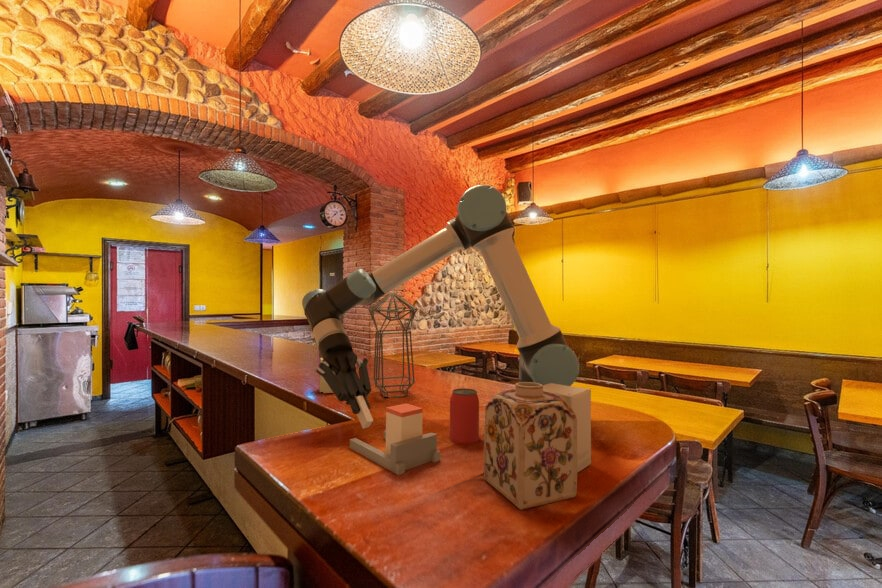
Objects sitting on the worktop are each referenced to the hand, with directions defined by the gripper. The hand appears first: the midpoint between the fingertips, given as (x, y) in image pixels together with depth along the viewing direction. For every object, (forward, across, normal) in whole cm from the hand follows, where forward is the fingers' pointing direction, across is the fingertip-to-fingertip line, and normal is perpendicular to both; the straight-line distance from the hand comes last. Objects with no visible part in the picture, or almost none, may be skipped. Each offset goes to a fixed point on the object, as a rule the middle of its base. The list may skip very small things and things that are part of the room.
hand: (367, 424), depth 85 cm
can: (-35, -20, -43) cm, 59 cm away
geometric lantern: (-22, -32, -30) cm, 49 cm away
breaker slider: (+12, 0, +6) cm, 13 cm away
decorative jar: (+28, -11, +20) cm, 36 cm away
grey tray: (+11, 0, +4) cm, 12 cm away
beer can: (+12, -17, +5) cm, 22 cm away
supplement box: (+26, -24, +19) cm, 41 cm away
